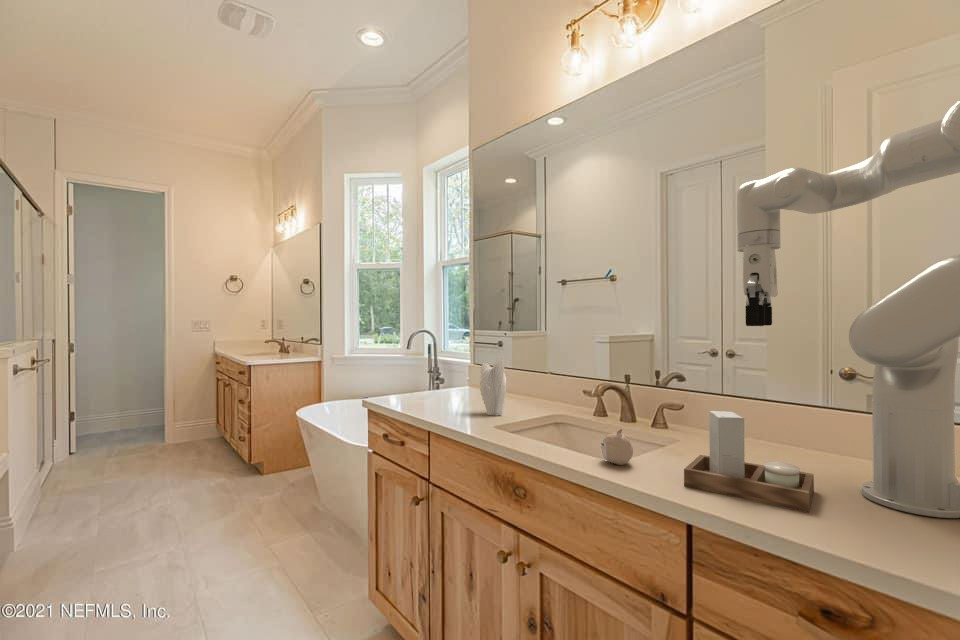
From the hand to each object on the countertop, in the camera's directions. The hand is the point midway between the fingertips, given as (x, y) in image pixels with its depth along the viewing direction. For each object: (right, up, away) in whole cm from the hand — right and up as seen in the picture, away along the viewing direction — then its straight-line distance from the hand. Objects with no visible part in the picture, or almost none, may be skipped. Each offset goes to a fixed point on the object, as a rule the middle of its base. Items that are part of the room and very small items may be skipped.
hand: (759, 325), depth 93 cm
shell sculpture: (-53, -29, +50) cm, 78 cm away
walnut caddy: (-11, -28, -14) cm, 33 cm away
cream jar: (-7, -28, -17) cm, 34 cm away
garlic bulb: (-29, -29, +1) cm, 41 cm away
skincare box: (-13, -28, -11) cm, 33 cm away
